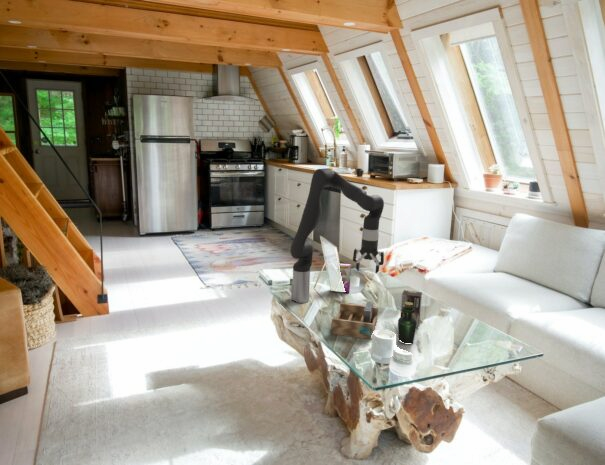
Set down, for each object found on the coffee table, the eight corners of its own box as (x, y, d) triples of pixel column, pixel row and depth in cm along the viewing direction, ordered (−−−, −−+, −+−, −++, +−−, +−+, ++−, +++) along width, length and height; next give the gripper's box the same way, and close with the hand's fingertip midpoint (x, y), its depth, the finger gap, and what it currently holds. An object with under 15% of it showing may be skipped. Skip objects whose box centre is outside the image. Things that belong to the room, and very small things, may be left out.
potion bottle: (409, 347, 210) (412, 308, 206) (392, 341, 215) (395, 303, 212) (418, 341, 216) (421, 303, 212) (402, 336, 221) (405, 298, 217)
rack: (331, 333, 221) (332, 319, 219) (340, 316, 243) (340, 303, 241) (372, 339, 216) (373, 324, 215) (377, 320, 238) (378, 307, 237)
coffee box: (419, 323, 237) (422, 292, 233) (418, 328, 231) (421, 296, 227) (401, 320, 240) (403, 289, 236) (399, 325, 234) (401, 293, 230)
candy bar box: (330, 292, 278) (331, 264, 275) (330, 289, 283) (331, 262, 280) (349, 293, 277) (351, 266, 274) (349, 290, 282) (351, 263, 279)
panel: (362, 331, 223) (363, 310, 221) (365, 321, 234) (367, 302, 232) (369, 331, 222) (370, 311, 220) (372, 322, 233) (373, 302, 231)
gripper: (353, 238, 221) (351, 272, 225) (384, 241, 218) (381, 275, 222) (356, 234, 229) (353, 267, 232) (386, 238, 225) (383, 271, 229)
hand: (367, 271), depth 227 cm, fingers open, 8 cm apart
